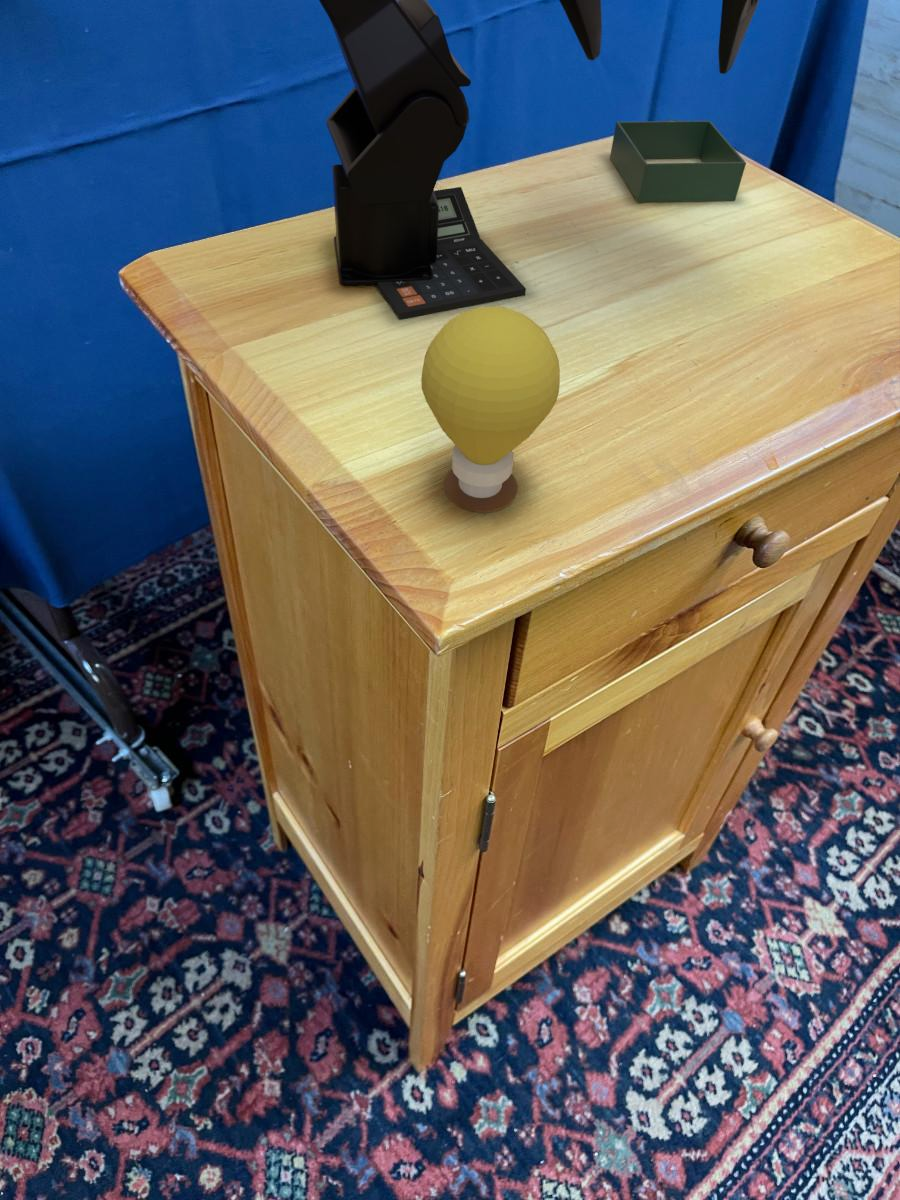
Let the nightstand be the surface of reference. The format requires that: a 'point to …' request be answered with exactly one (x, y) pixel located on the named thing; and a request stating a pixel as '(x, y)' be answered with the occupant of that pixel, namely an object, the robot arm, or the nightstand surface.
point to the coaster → (480, 504)
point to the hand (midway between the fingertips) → (657, 64)
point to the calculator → (454, 268)
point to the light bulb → (489, 390)
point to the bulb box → (676, 179)
